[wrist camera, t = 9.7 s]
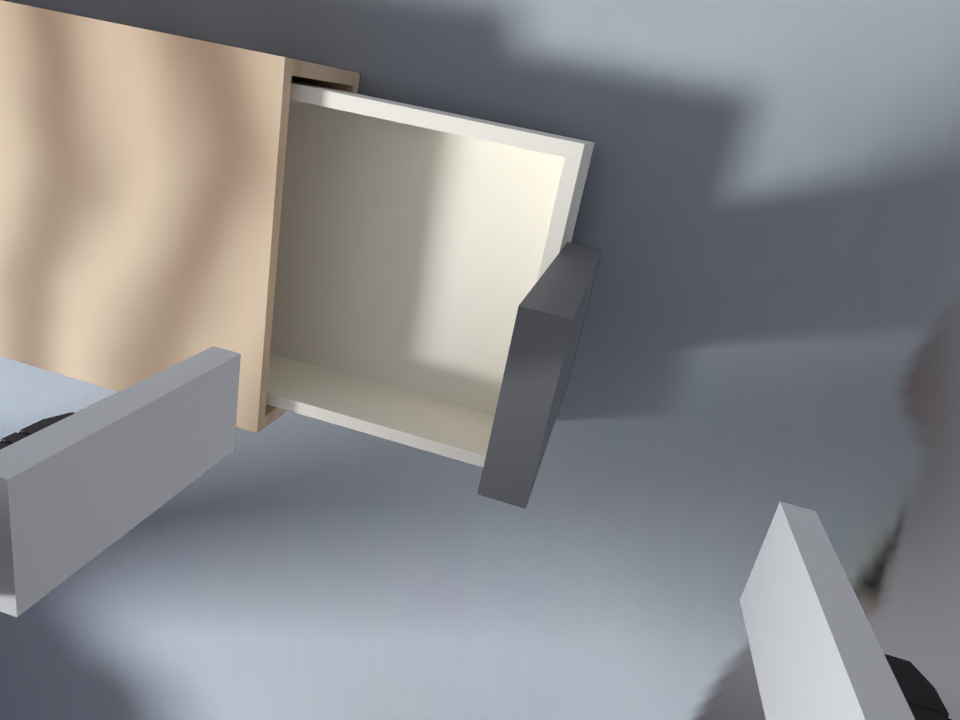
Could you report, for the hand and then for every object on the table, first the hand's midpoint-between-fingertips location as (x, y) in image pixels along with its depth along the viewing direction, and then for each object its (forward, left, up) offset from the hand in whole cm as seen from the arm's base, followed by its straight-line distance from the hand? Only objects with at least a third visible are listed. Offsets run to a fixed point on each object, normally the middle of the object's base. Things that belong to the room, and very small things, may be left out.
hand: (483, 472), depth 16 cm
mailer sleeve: (-23, 0, -18) cm, 29 cm away
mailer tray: (-10, 0, -17) cm, 20 cm away
